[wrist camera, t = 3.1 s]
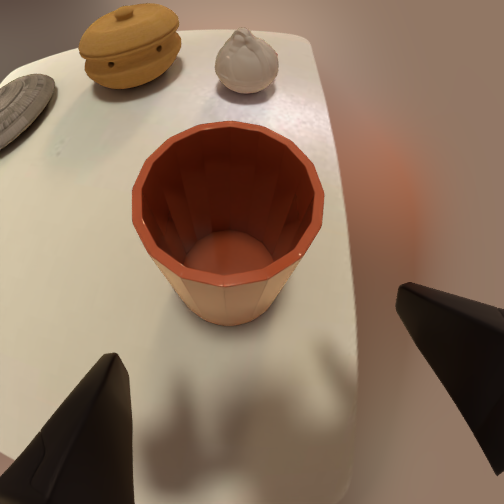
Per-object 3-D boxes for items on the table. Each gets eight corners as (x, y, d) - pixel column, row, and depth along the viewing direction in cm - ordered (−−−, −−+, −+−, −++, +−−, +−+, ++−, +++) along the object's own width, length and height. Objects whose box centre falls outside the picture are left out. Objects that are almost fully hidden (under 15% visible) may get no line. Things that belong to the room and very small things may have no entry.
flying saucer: (-18, 120, 26) (-33, 99, 21) (56, 70, 30) (46, 44, 25) (-28, 183, 22) (-51, 160, 17) (61, 119, 26) (44, 86, 21)
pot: (143, 45, 32) (133, -12, 23) (203, 63, 30) (201, -7, 21) (77, 89, 28) (54, 29, 19) (130, 115, 26) (107, 36, 17)
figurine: (290, 88, 29) (302, 29, 21) (244, 113, 27) (249, 46, 19) (248, 65, 30) (253, 10, 23) (203, 86, 28) (200, 25, 21)
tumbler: (269, 335, 19) (312, 305, 9) (167, 312, 20) (104, 259, 9) (286, 239, 22) (328, 140, 12) (193, 220, 22) (169, 112, 12)
